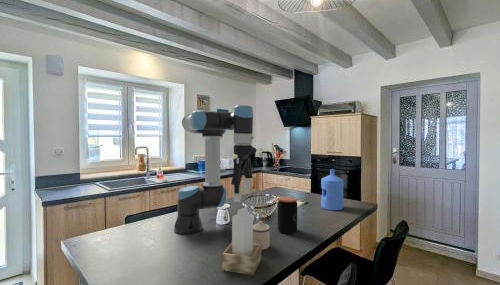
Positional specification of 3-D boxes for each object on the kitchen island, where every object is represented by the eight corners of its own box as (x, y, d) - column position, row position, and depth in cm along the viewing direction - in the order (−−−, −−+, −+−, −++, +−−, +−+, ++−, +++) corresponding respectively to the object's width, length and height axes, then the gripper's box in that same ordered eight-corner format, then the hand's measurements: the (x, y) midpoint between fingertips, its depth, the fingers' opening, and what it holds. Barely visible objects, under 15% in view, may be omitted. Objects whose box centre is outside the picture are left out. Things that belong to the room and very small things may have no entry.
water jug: (345, 206, 189) (345, 169, 188) (340, 212, 175) (341, 171, 175) (324, 203, 197) (324, 167, 196) (318, 208, 184) (318, 169, 183)
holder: (222, 270, 98) (222, 253, 98) (232, 255, 110) (232, 240, 110) (253, 275, 95) (253, 258, 95) (261, 259, 107) (261, 244, 107)
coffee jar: (296, 235, 133) (297, 201, 133) (276, 233, 136) (276, 200, 135) (297, 228, 144) (297, 196, 144) (278, 226, 146) (278, 195, 146)
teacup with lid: (263, 240, 126) (264, 217, 126) (273, 247, 118) (273, 223, 118) (241, 245, 121) (242, 220, 121) (250, 253, 113) (250, 227, 112)
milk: (252, 262, 103) (253, 208, 103) (242, 268, 98) (243, 211, 98) (241, 257, 107) (242, 205, 106) (231, 262, 102) (232, 208, 102)
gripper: (243, 146, 89) (242, 206, 89) (259, 143, 113) (258, 191, 113) (222, 145, 90) (222, 204, 91) (243, 143, 115) (242, 190, 115)
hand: (242, 197), depth 102 cm, fingers open, 13 cm apart
